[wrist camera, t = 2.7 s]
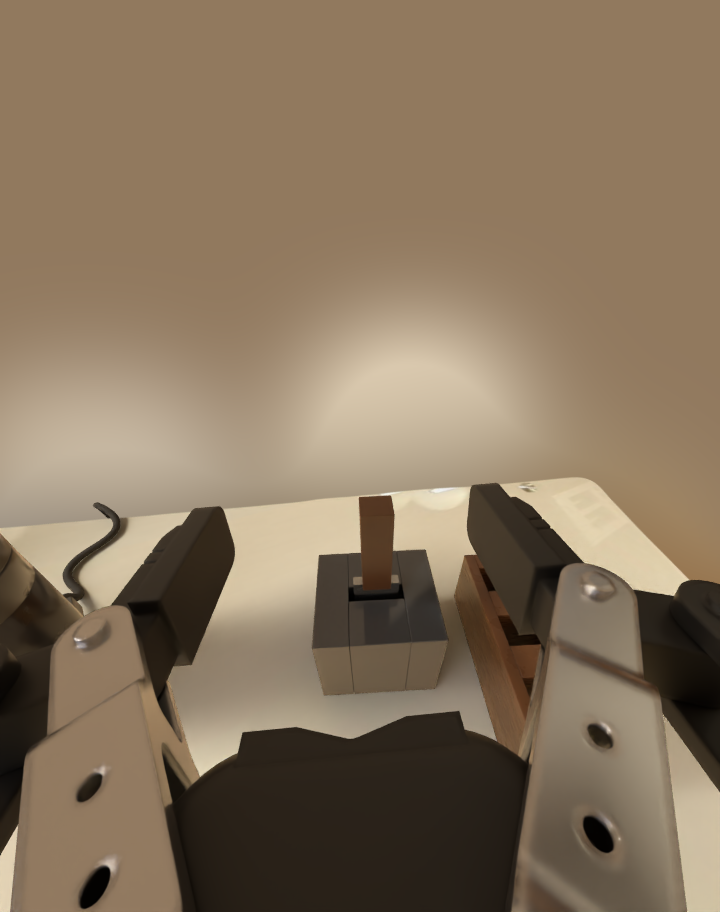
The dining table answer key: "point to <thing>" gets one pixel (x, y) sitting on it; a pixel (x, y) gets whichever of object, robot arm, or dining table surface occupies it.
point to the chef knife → (376, 550)
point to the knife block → (377, 628)
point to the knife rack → (497, 652)
